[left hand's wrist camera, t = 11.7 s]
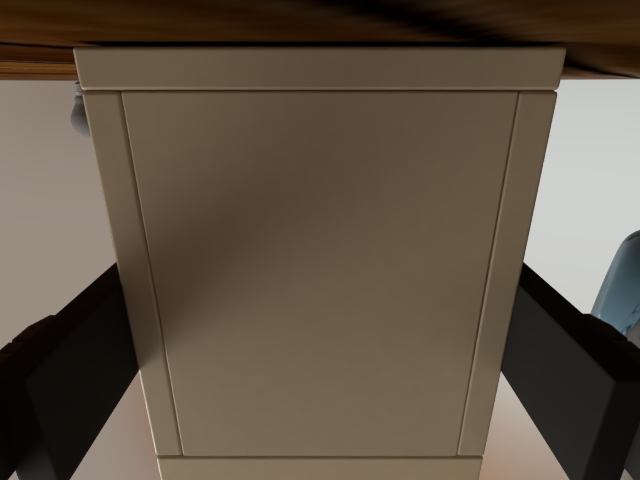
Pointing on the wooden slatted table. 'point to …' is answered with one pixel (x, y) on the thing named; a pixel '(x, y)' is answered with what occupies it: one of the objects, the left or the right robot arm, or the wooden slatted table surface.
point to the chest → (319, 236)
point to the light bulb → (80, 113)
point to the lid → (319, 467)
